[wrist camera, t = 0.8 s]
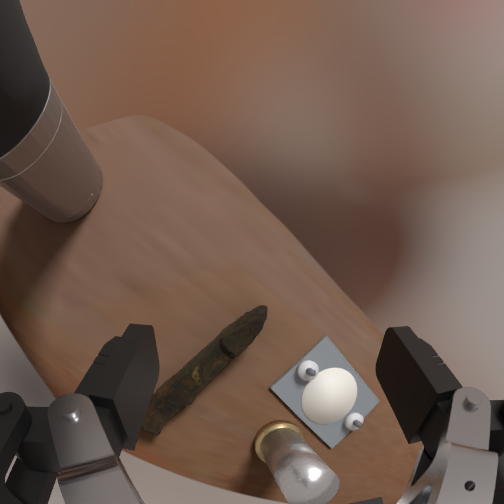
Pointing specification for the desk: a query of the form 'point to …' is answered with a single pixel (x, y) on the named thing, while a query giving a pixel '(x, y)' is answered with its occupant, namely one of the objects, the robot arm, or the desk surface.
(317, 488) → the clear glass cylinder
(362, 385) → the board
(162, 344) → the desk surface
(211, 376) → the hand tool
